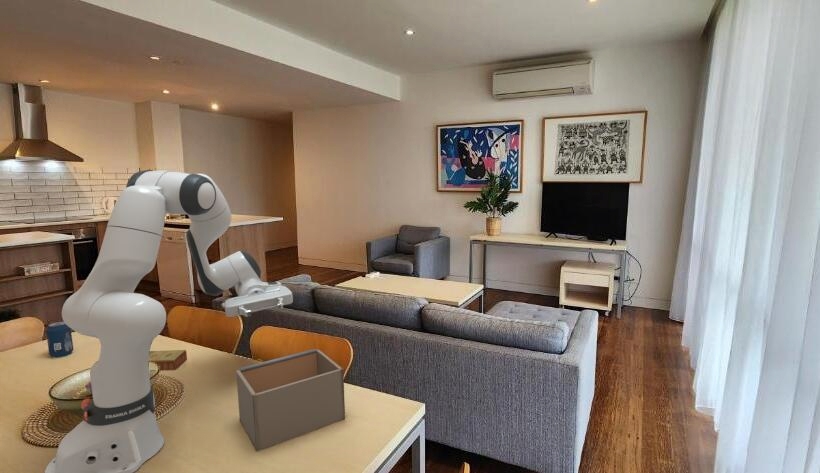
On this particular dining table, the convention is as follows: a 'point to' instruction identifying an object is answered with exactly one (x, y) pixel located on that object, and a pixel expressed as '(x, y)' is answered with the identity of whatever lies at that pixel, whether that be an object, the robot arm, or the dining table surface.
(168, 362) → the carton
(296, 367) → the flap
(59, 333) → the blue can
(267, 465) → the dining table surface
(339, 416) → the open carton
